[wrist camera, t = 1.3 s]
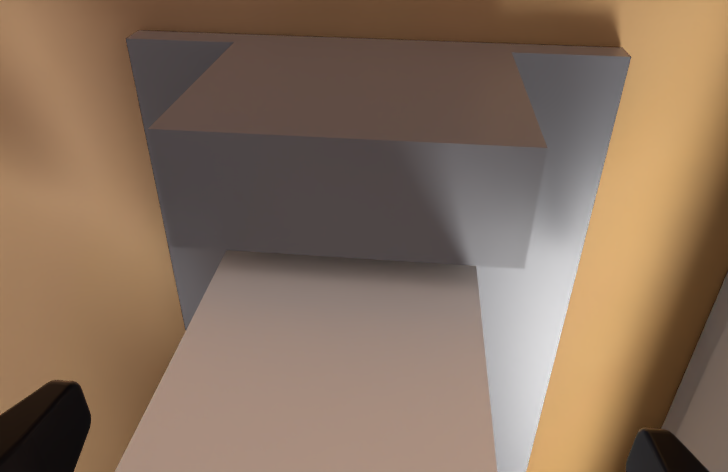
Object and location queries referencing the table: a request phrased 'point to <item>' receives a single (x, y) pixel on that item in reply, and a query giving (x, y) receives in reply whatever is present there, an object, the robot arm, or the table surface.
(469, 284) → the block
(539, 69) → the clip block
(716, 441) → the tray
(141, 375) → the table surface
